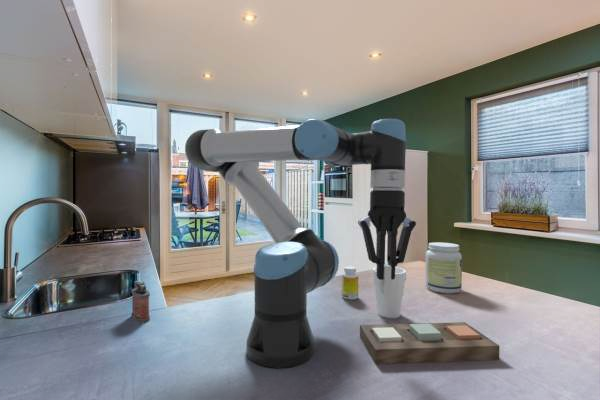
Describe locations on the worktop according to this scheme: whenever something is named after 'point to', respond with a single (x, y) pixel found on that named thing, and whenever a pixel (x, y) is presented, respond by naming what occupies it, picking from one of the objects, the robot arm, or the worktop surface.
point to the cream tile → (386, 334)
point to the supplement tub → (444, 268)
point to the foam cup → (390, 303)
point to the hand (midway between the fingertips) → (385, 293)
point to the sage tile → (424, 332)
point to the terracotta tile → (462, 332)
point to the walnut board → (427, 346)
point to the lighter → (140, 303)
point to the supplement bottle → (349, 283)
